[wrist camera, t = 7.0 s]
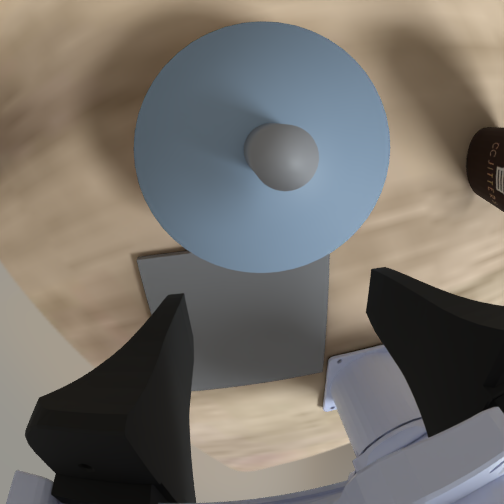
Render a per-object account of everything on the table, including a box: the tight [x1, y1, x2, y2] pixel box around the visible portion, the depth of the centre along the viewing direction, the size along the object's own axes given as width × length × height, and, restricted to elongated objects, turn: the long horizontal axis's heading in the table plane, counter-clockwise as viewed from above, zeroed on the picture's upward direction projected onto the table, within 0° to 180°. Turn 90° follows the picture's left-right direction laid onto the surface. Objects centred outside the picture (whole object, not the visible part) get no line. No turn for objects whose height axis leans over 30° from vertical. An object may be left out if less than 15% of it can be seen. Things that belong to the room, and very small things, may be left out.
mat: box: [137, 251, 330, 391], centre depth 23 cm, size 13×13×1 cm
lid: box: [134, 22, 390, 273], centre depth 13 cm, size 13×13×4 cm
